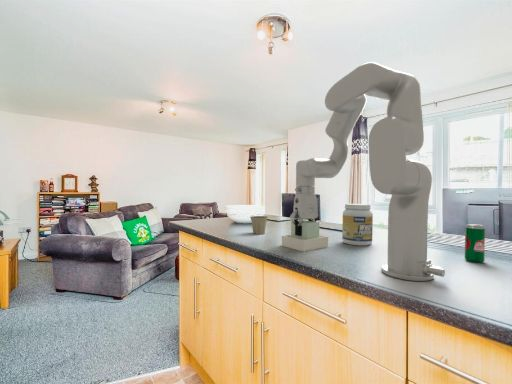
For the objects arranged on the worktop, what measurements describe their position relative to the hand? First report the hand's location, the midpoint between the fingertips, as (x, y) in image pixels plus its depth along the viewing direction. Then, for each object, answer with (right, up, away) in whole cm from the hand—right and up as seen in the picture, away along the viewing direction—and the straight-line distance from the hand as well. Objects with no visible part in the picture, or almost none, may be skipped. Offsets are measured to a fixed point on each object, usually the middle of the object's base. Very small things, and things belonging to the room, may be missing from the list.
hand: (304, 234), depth 109 cm
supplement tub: (+24, -5, +7) cm, 25 cm away
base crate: (0, -5, 0) cm, 5 cm away
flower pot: (-18, -5, +30) cm, 36 cm away
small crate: (0, -2, 0) cm, 2 cm away
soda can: (+52, -6, -21) cm, 56 cm away
